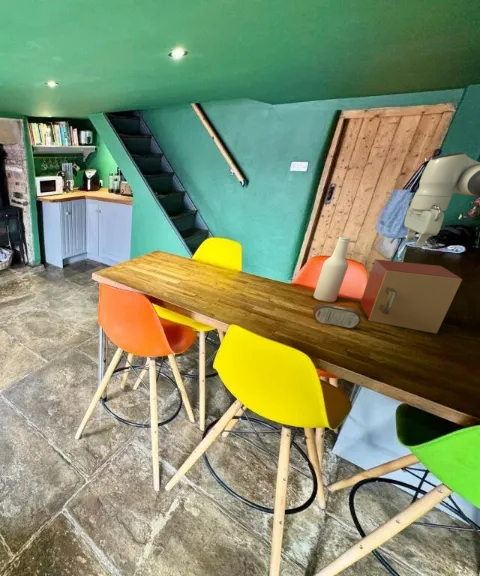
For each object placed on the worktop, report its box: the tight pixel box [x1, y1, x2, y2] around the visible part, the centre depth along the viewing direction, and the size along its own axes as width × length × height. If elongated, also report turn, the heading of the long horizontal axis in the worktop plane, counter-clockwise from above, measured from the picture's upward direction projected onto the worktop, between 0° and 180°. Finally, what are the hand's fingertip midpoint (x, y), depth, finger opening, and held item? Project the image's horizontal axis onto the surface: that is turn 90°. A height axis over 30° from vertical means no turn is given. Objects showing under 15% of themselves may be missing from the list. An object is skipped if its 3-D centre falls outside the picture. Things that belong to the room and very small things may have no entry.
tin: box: [312, 302, 362, 329], centre depth 118 cm, size 15×3×8 cm, turn 59°
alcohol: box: [313, 236, 351, 303], centre depth 137 cm, size 9×9×30 cm
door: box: [367, 270, 463, 334], centre depth 112 cm, size 6×20×22 cm, turn 61°
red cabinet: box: [359, 259, 461, 320], centre depth 121 cm, size 16×20×22 cm
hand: (413, 243), depth 109 cm, fingers open, 8 cm apart
